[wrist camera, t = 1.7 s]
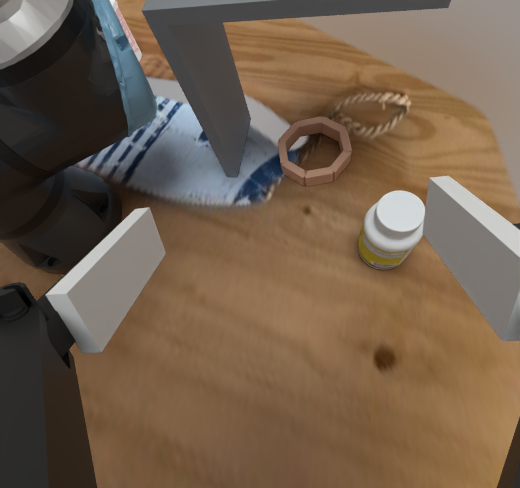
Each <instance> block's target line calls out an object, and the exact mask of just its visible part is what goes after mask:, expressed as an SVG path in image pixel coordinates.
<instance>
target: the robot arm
mask: <svg viewBox="0 0 520 488" xmlns="http://www.w3.org/2000/svg"><path fill="white" fill-rule="evenodd" d="M156 111H157V103H156V100H155V97H154V95H153V92H152V90H151V88H150V85H149V83H148V81H147V78H146V76H145V74H144V72H143V70H142V68H141V65H140V63H139V61H138V59H137V57H136V55H135V53H134V51H133V49H132V47H131V45H130V43H129V40H128V38H127V36H126V34H125V32H124V30H123V27H122V25H121V23H120V21H119V19H118V17H117V15H116V13H115V11H114V9H113V6H112V5H111V3H110V1H109V0H0V242H1V243H2V244H4V245H5V246H6V247H7V248H8V249H10V250H11V251H12V252H13V253H14V254H16V255H17V256H18V257H19V258H21V259H22V260H23V261H24V262H25V263H27V264H28V265H30V266H32V267H34V268H37V269H40V270H43V271H46V272H49V273H54V274H65V273H66V274H65V276H63V277H62V278H61V279H59V280H58V283H55V284H54V285H53V286H52V287H51V288H50V289H49V290H48V291H47V292H46V293H45V294H44V295H43V296H42V297H40V298H39V299H38V300H37V301H36V300H35V299H34V297H33V296H32V294H31V293H30V291H29V290H28V288H27V287H26V285H25V284H24V283H20V282H19V283H12V284H9V285H6V286H3V287H1V288H0V488H97V484H96V478H95V473H94V467H93V462H92V456H91V451H90V445H89V440H88V434H87V429H86V423H85V418H84V412H83V407H82V401H81V396H80V390H79V385H78V379H77V374H76V368H75V363H74V357H73V356H72V354H71V352H70V351H69V349H70V348H71V346H72V345H73V344H74V342H76V344H77V345H78V347H79V348H80V350H81V351H82V353H100V352H102V351H103V349H104V348H105V346H106V345H107V343H108V342H109V340H110V339H111V337H112V336H113V334H114V332H115V331H116V329H117V328H118V326H119V325H120V323H121V322H122V320H123V319H124V317H125V316H126V314H127V313H128V311H129V309H130V308H131V306H132V305H133V303H134V302H135V300H136V299H137V297H138V296H139V294H140V293H141V291H142V290H143V288H144V286H145V285H146V283H147V282H148V280H149V279H150V277H151V276H152V274H153V273H154V271H155V270H156V268H157V267H158V265H159V263H160V262H161V260H162V259H163V257H164V256H165V254H166V252H165V249H164V247H163V244H162V241H161V238H160V235H159V233H158V230H157V227H156V224H155V221H154V219H153V216H152V213H151V210H150V207H149V208H139V209H135V210H134V211H133V212H132V213H131V214H130V215H129V216H127V217H126V218H125V219H124V220H123V221H122V222H121V223H120V219H121V203H120V199H119V197H118V194H117V193H116V191H115V190H114V189H113V187H112V186H110V185H109V184H108V183H107V182H106V181H104V180H103V179H102V178H101V177H99V176H97V175H96V174H94V173H91V172H88V171H85V170H83V169H80V168H77V167H74V166H72V165H74V164H76V163H78V162H80V161H82V160H84V159H85V158H87V157H89V156H91V155H93V154H95V153H97V152H99V151H101V150H103V149H105V148H106V147H108V146H110V145H112V144H114V143H116V142H118V141H120V140H122V139H124V138H125V137H130V136H131V135H132V134H133V132H134V131H136V130H137V129H139V128H141V127H142V126H144V125H145V124H147V123H149V122H150V121H151V120H152V119H153V118H154V116H155V114H156ZM422 233H423V235H424V236H425V237H426V239H427V240H428V242H429V243H430V244H431V246H432V247H433V248H434V250H435V251H436V252H437V254H438V255H439V256H440V258H441V259H442V261H443V262H444V263H445V265H446V266H447V267H448V269H449V270H450V271H451V273H452V274H453V275H454V277H455V278H456V280H457V281H458V282H459V284H460V285H461V286H462V288H463V289H464V290H465V292H466V293H467V295H468V296H469V297H470V299H471V300H472V301H473V303H474V304H475V305H476V307H477V308H478V309H479V311H480V312H481V314H482V315H483V316H484V318H485V319H486V320H487V322H488V323H489V324H490V326H491V327H492V328H493V330H494V331H495V333H496V334H497V335H498V337H499V338H500V339H501V341H520V223H519V224H511V223H510V222H509V221H507V220H506V219H505V218H503V217H502V216H501V215H499V214H498V213H497V212H495V211H494V210H493V209H491V208H490V207H489V206H488V205H486V204H485V203H484V202H482V201H481V200H480V199H478V198H477V197H476V196H474V195H473V194H472V193H470V192H469V191H468V190H466V189H465V188H464V187H462V186H461V185H460V184H459V183H457V182H456V181H455V180H453V179H452V178H451V177H449V176H442V177H433V178H429V185H428V193H427V200H426V208H425V216H424V223H423V231H422ZM497 488H520V418H519V421H518V424H517V427H516V430H515V433H514V436H513V439H512V443H511V446H510V449H509V452H508V455H507V458H506V461H505V464H504V467H503V470H502V473H501V477H500V480H499V483H498V486H497Z"/></svg>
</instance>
